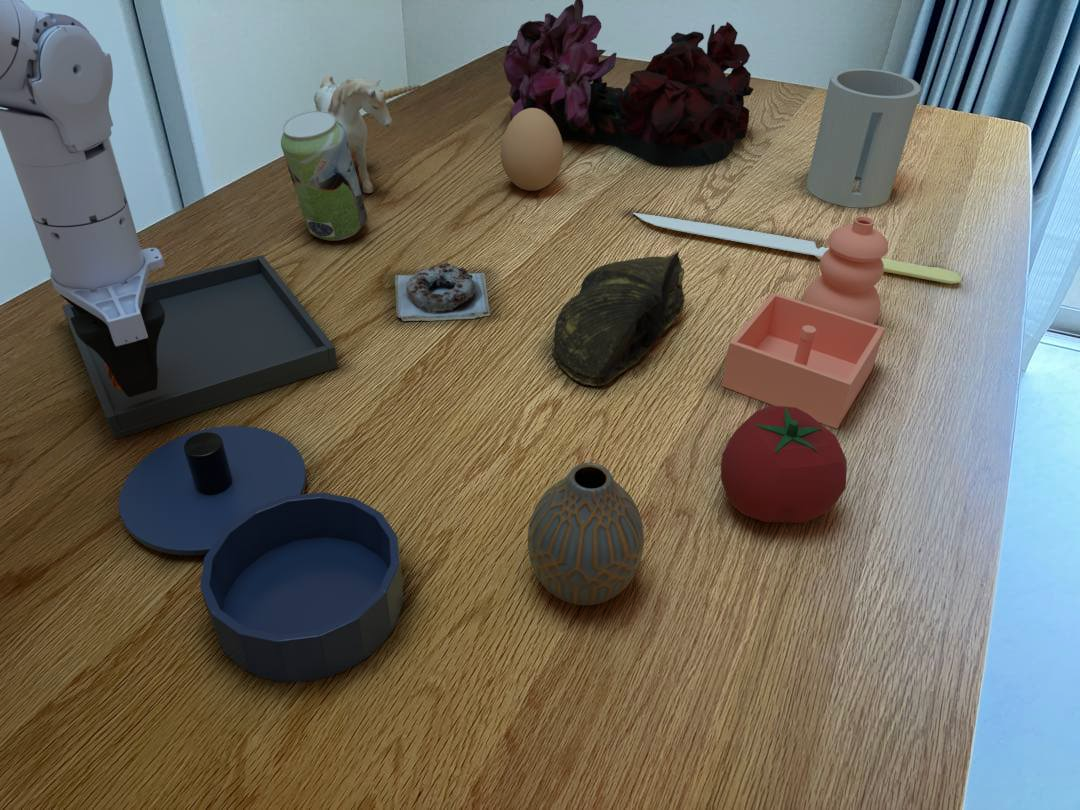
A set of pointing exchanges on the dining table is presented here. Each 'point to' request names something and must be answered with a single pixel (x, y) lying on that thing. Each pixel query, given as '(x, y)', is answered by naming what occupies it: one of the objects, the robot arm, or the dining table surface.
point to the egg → (532, 150)
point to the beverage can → (323, 175)
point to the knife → (793, 246)
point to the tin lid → (207, 486)
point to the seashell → (617, 317)
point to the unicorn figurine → (357, 112)
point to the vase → (585, 537)
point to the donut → (441, 294)
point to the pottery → (816, 332)
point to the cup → (862, 136)
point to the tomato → (783, 466)
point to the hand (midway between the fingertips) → (134, 376)
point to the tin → (303, 586)
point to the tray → (215, 345)
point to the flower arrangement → (633, 90)
